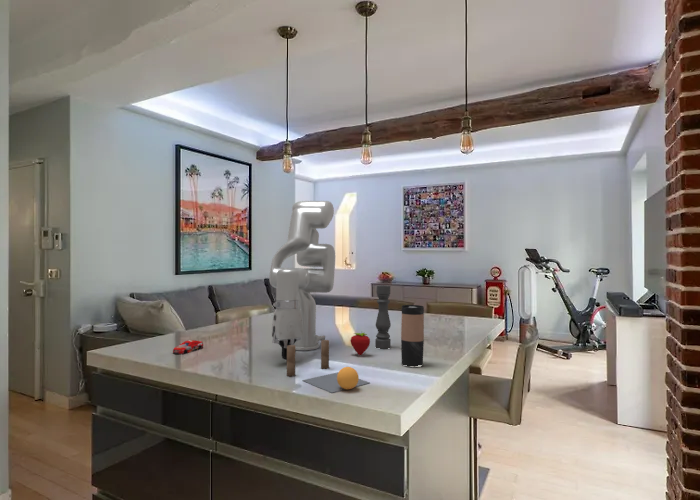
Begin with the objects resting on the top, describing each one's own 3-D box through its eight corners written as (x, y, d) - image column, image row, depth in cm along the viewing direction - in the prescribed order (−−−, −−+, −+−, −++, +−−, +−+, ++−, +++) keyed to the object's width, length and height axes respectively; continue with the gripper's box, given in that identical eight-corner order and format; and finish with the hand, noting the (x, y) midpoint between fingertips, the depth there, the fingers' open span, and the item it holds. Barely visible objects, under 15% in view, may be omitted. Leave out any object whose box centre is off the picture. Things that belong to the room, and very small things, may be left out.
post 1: (292, 373, 129) (292, 344, 129) (296, 375, 127) (297, 346, 127) (284, 375, 127) (285, 345, 128) (289, 376, 126) (289, 347, 126)
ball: (352, 389, 118) (346, 368, 120) (365, 384, 114) (359, 362, 116) (335, 393, 114) (330, 371, 116) (348, 388, 110) (343, 366, 112)
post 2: (325, 366, 138) (325, 339, 138) (330, 368, 136) (330, 340, 136) (319, 367, 136) (319, 340, 136) (324, 369, 134) (324, 341, 134)
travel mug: (425, 363, 144) (425, 305, 144) (421, 368, 137) (422, 307, 137) (403, 361, 146) (403, 304, 147) (398, 366, 139) (399, 306, 139)
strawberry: (353, 352, 158) (353, 326, 158) (372, 354, 155) (372, 328, 156) (347, 356, 153) (348, 328, 153) (366, 358, 150) (367, 330, 150)
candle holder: (374, 346, 170) (374, 285, 171) (389, 346, 171) (389, 285, 171) (376, 349, 164) (377, 286, 165) (391, 349, 165) (392, 286, 165)
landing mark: (339, 372, 131) (339, 372, 131) (369, 383, 120) (369, 382, 120) (302, 380, 122) (302, 380, 122) (331, 393, 111) (331, 392, 111)
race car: (181, 356, 151) (181, 345, 151) (169, 355, 153) (169, 344, 153) (206, 348, 163) (206, 338, 163) (195, 347, 165) (195, 337, 165)
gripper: (273, 307, 134) (272, 364, 134) (311, 304, 144) (310, 357, 144) (262, 305, 140) (261, 360, 140) (299, 302, 150) (298, 353, 149)
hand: (286, 358), depth 142 cm, fingers closed
